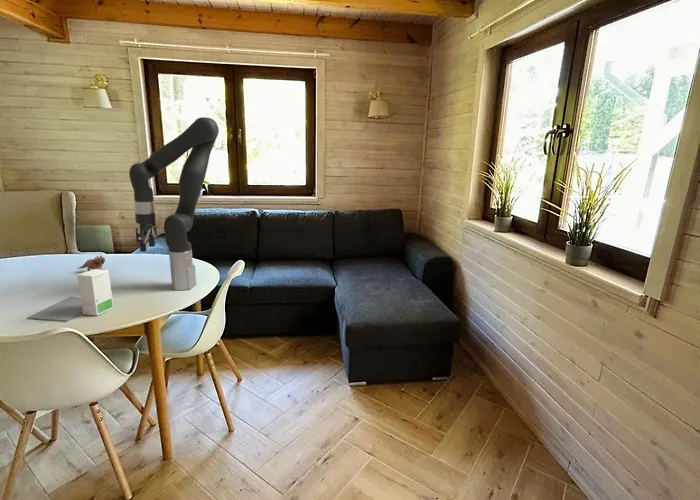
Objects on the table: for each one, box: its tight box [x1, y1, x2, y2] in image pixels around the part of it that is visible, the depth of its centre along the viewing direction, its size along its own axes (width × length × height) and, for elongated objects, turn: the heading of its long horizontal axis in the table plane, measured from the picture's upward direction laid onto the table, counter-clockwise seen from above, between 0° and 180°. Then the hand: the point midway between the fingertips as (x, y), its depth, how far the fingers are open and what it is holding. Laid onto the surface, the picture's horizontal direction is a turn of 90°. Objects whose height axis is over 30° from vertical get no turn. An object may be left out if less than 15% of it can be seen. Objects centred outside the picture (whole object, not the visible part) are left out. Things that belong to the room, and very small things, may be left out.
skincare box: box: [76, 268, 114, 317], centre depth 143 cm, size 8×7×16 cm
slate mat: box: [26, 296, 83, 323], centre depth 146 cm, size 15×20×1 cm
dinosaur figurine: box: [77, 255, 106, 271], centre depth 185 cm, size 14×6×9 cm, turn 89°
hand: (147, 248), depth 164 cm, fingers open, 8 cm apart
